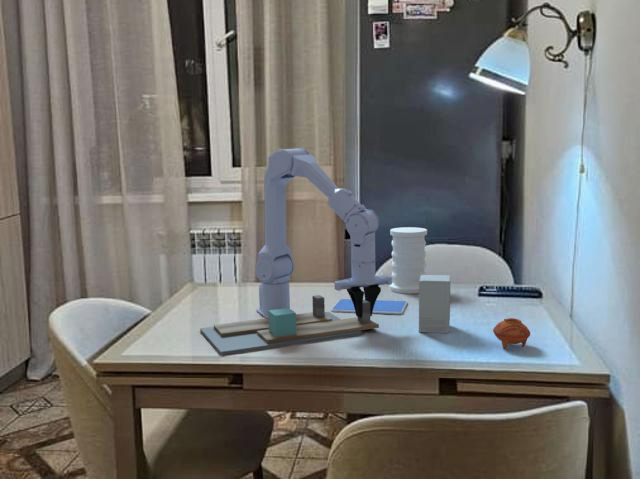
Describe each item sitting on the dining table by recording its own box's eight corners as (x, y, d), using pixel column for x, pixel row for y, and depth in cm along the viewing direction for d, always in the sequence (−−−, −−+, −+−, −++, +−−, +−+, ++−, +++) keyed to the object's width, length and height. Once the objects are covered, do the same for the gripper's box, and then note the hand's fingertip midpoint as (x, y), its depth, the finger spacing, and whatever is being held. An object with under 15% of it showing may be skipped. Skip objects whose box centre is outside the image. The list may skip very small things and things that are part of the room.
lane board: (200, 331, 170) (200, 328, 170) (328, 314, 183) (328, 311, 183) (220, 355, 152) (220, 351, 152) (361, 335, 165) (361, 331, 165)
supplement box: (449, 333, 165) (450, 281, 162) (418, 332, 166) (418, 280, 164) (450, 325, 172) (450, 274, 170) (419, 323, 173) (420, 274, 171)
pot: (483, 342, 156) (489, 313, 156) (511, 346, 159) (517, 317, 159) (504, 351, 149) (511, 320, 149) (534, 355, 152) (540, 325, 152)
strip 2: (256, 334, 164) (256, 310, 163) (364, 319, 175) (363, 297, 174) (267, 343, 157) (266, 318, 156) (378, 327, 167) (378, 304, 167)
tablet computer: (329, 313, 186) (329, 309, 186) (339, 302, 198) (339, 297, 198) (402, 317, 182) (402, 312, 181) (408, 305, 194) (408, 300, 193)
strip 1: (213, 328, 170) (212, 305, 169) (320, 314, 180) (319, 292, 180) (222, 336, 163) (220, 312, 162) (332, 322, 173) (332, 299, 172)
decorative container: (387, 293, 205) (387, 232, 203) (390, 284, 217) (390, 226, 214) (427, 293, 203) (428, 232, 201) (428, 285, 215) (428, 227, 212)
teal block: (269, 331, 164) (268, 310, 163) (289, 328, 166) (288, 307, 165) (275, 336, 159) (275, 315, 158) (296, 334, 161) (295, 312, 160)
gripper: (342, 266, 161) (343, 323, 164) (398, 261, 167) (398, 316, 169) (330, 261, 168) (331, 316, 170) (384, 256, 173) (384, 309, 176)
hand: (363, 316), depth 170 cm, fingers closed on strip 2, 2 cm apart
